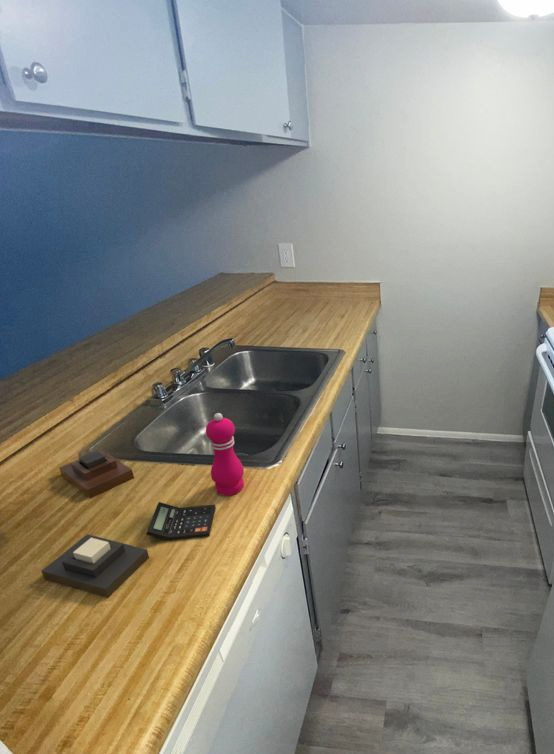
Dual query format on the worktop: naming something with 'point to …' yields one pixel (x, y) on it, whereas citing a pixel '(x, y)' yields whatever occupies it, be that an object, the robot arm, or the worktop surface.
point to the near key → (91, 550)
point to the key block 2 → (96, 568)
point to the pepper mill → (224, 457)
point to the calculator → (181, 522)
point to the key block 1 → (97, 475)
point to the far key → (92, 459)
